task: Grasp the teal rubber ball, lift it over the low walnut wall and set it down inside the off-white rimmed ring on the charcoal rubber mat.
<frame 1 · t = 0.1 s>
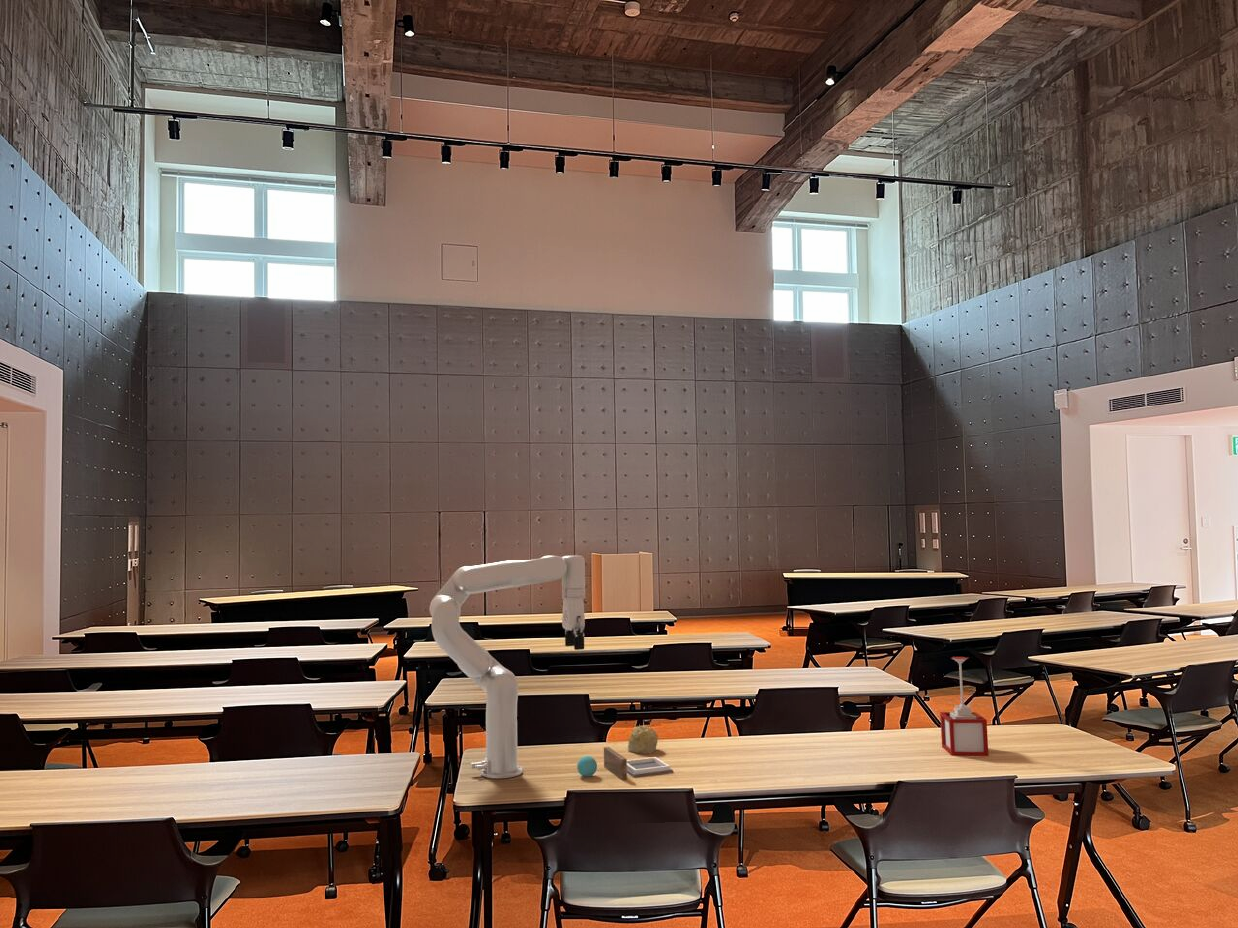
hand: (574, 647, 271), 37 cm above the table, tool pointing down, fingers open, 9 cm apart
low wall: (615, 772, 258), on the table
ball: (587, 766, 255), point 3 cm above the table
rock: (643, 751, 285), on the table
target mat: (645, 769, 261), on the table
pendant light: (964, 751, 276), on the table
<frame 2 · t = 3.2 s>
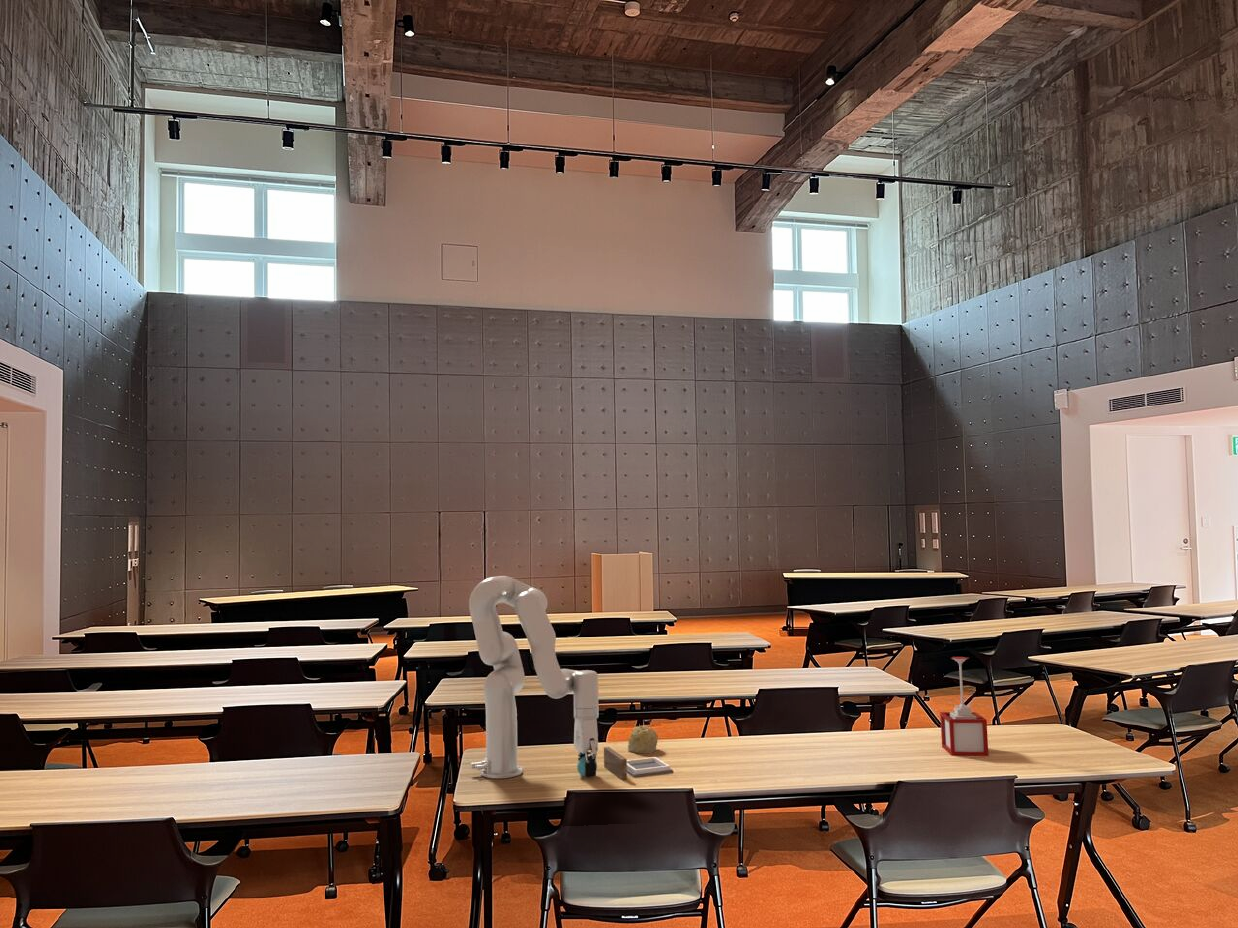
hand: (587, 772, 255), 1 cm above the table, tool pointing down, fingers closed on ball, 5 cm apart
ball: (587, 766, 255), point 3 cm above the table, touching gripper
everything else where it was.
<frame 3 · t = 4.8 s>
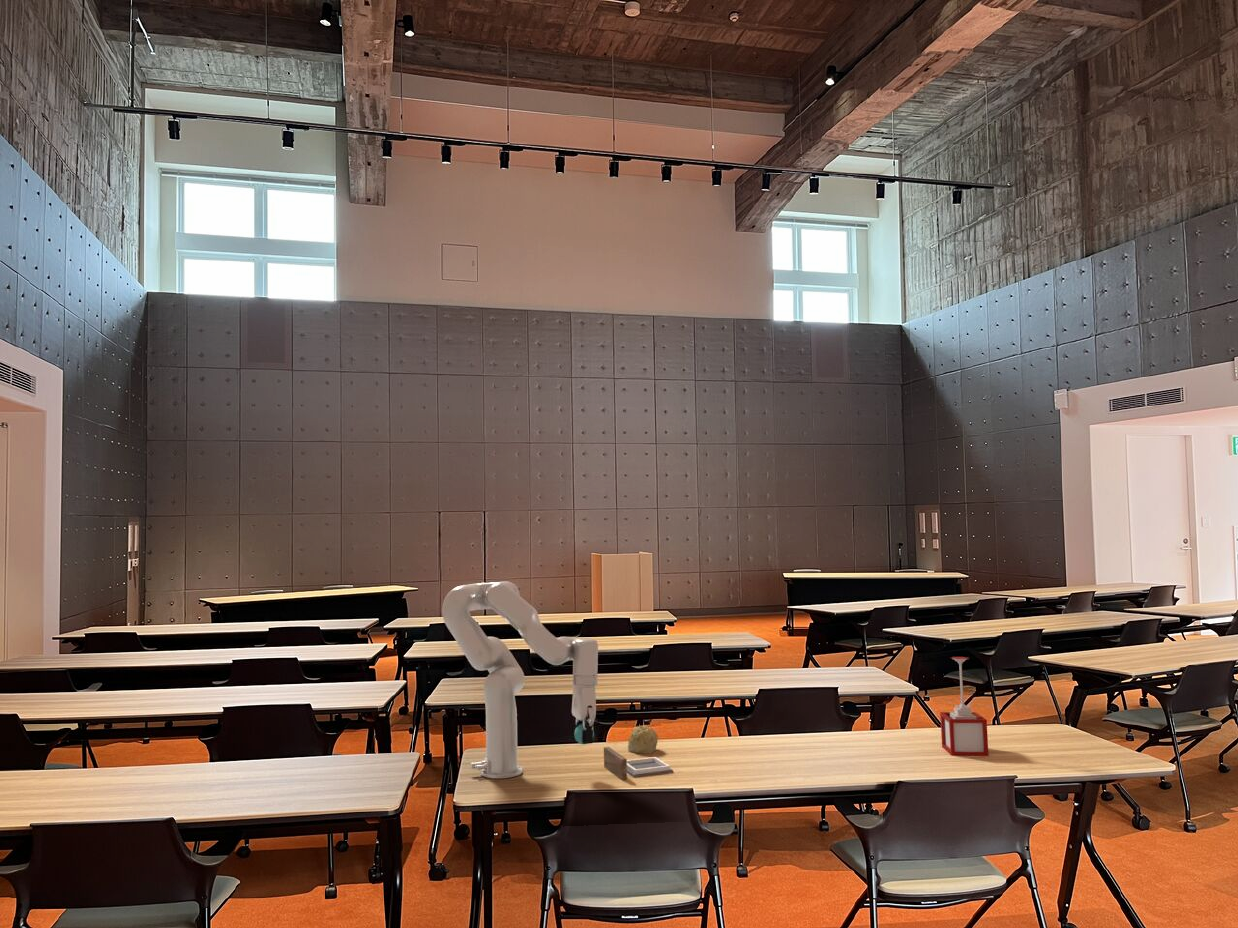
hand: (584, 740, 256), 11 cm above the table, tool pointing down, fingers closed on ball, 5 cm apart
ball: (584, 733, 256), point 13 cm above the table, touching gripper
everything else where it was.
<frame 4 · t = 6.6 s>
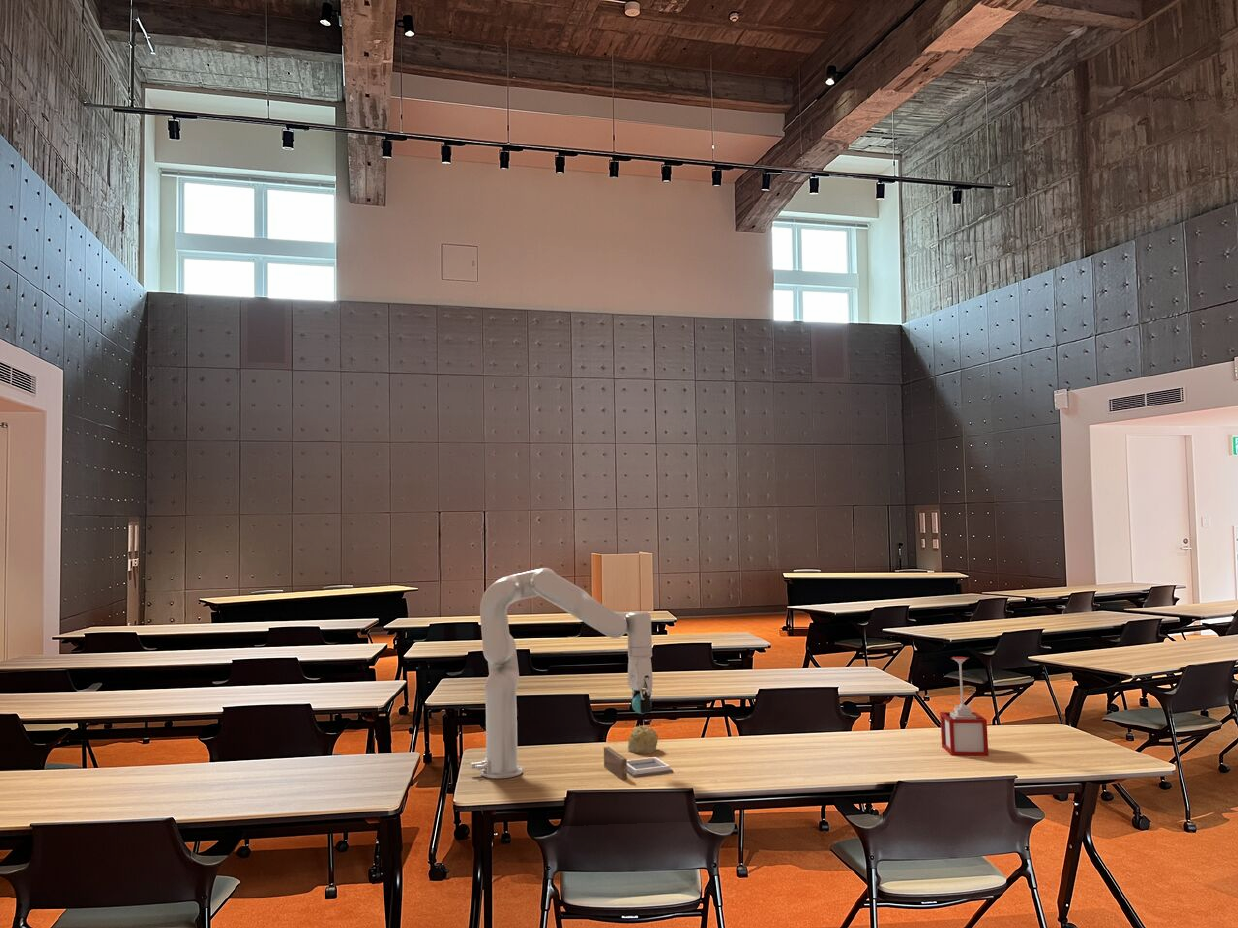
hand: (641, 710, 263), 18 cm above the table, tool pointing down, fingers closed on ball, 5 cm apart
ball: (641, 703, 263), point 20 cm above the table, touching gripper
everything else where it was.
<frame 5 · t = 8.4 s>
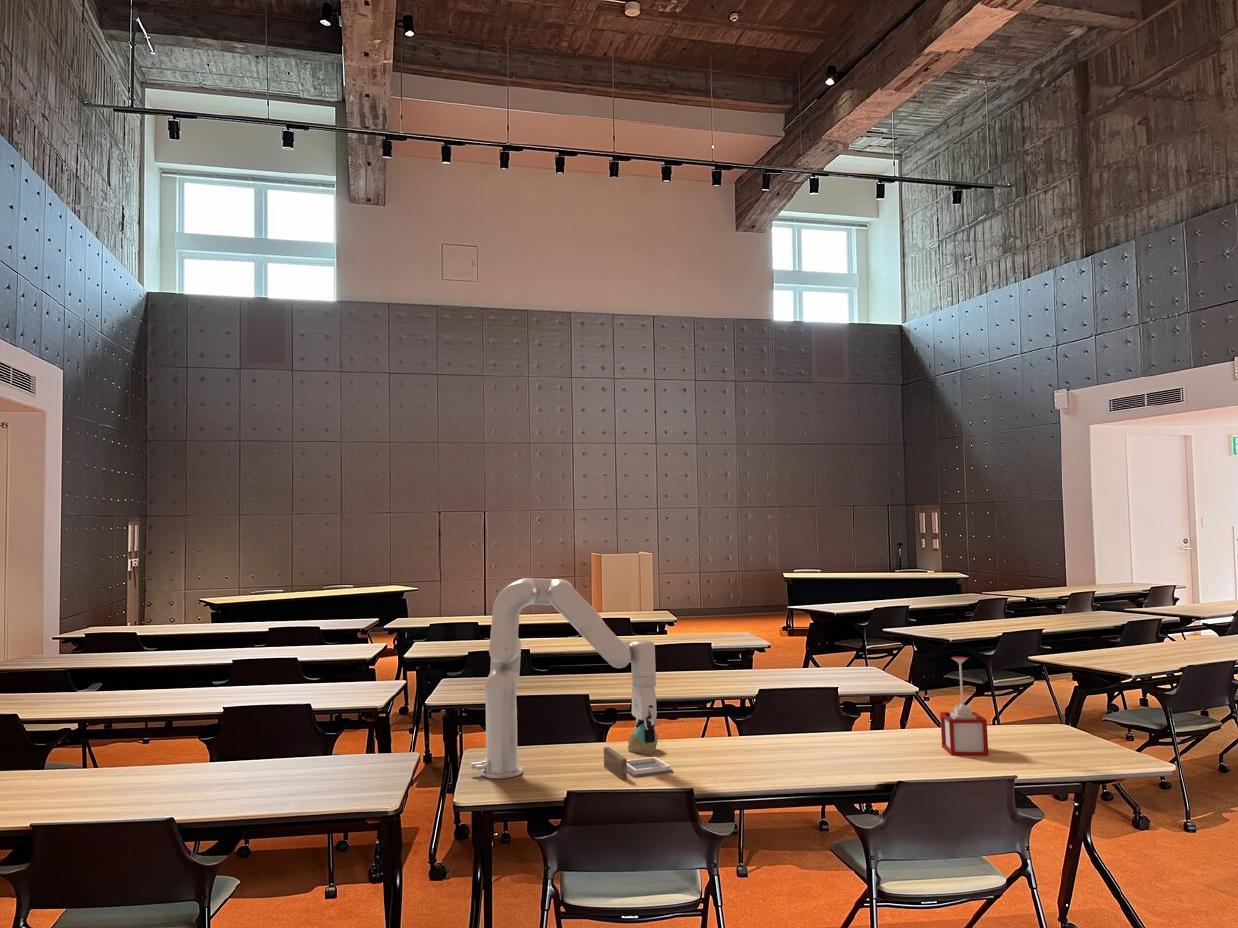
hand: (645, 739, 262), 9 cm above the table, tool pointing down, fingers closed on ball, 5 cm apart
ball: (645, 733, 262), point 11 cm above the table, touching gripper
everything else where it was.
when the fingers open (3 cm above the table, at t = 10.0 s): ball drops 1 cm, resting on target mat.
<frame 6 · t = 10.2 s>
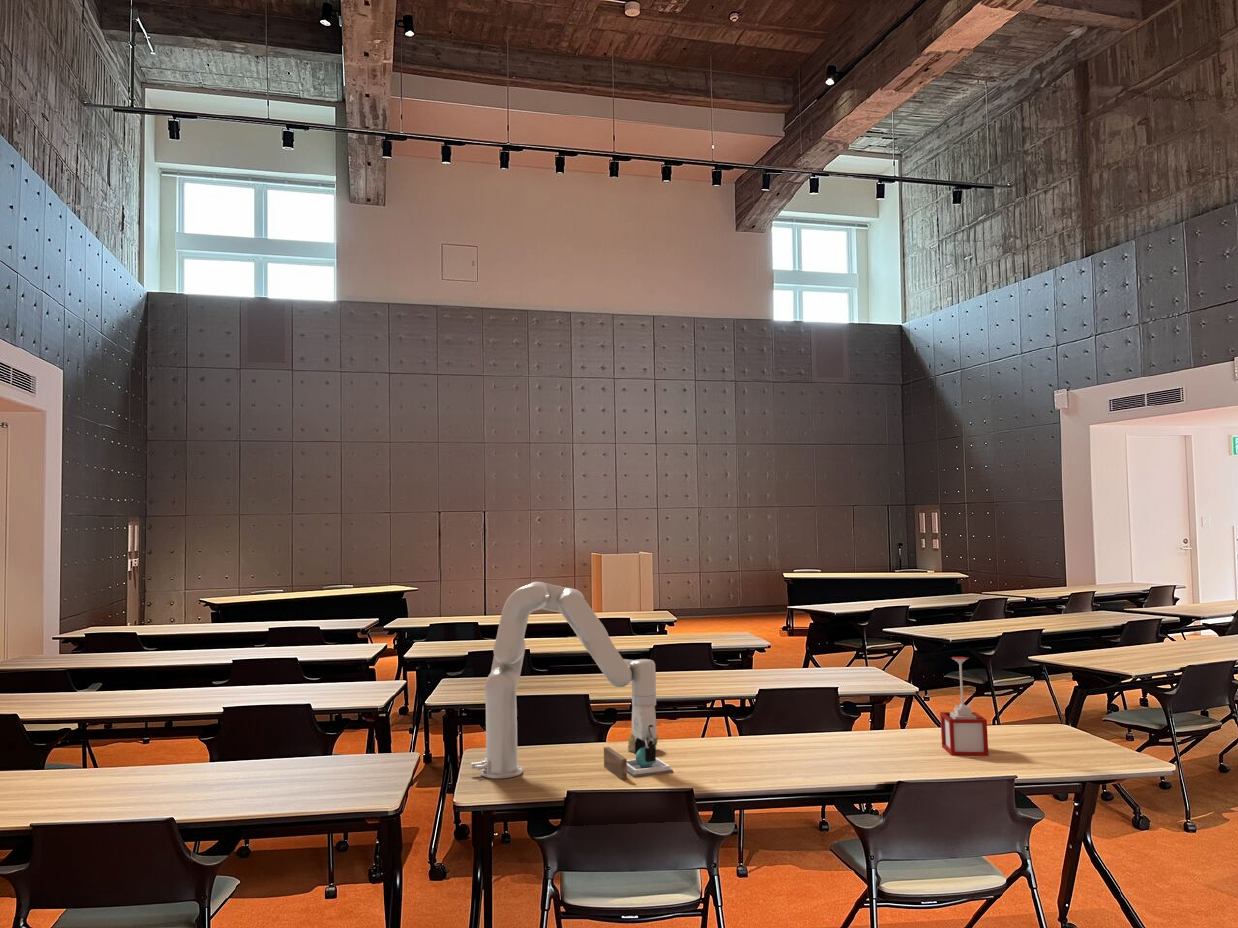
hand: (645, 757, 262), 4 cm above the table, tool pointing down, fingers open, 8 cm apart
ball: (645, 757, 262), point 4 cm above the table, touching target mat
everything else where it was.
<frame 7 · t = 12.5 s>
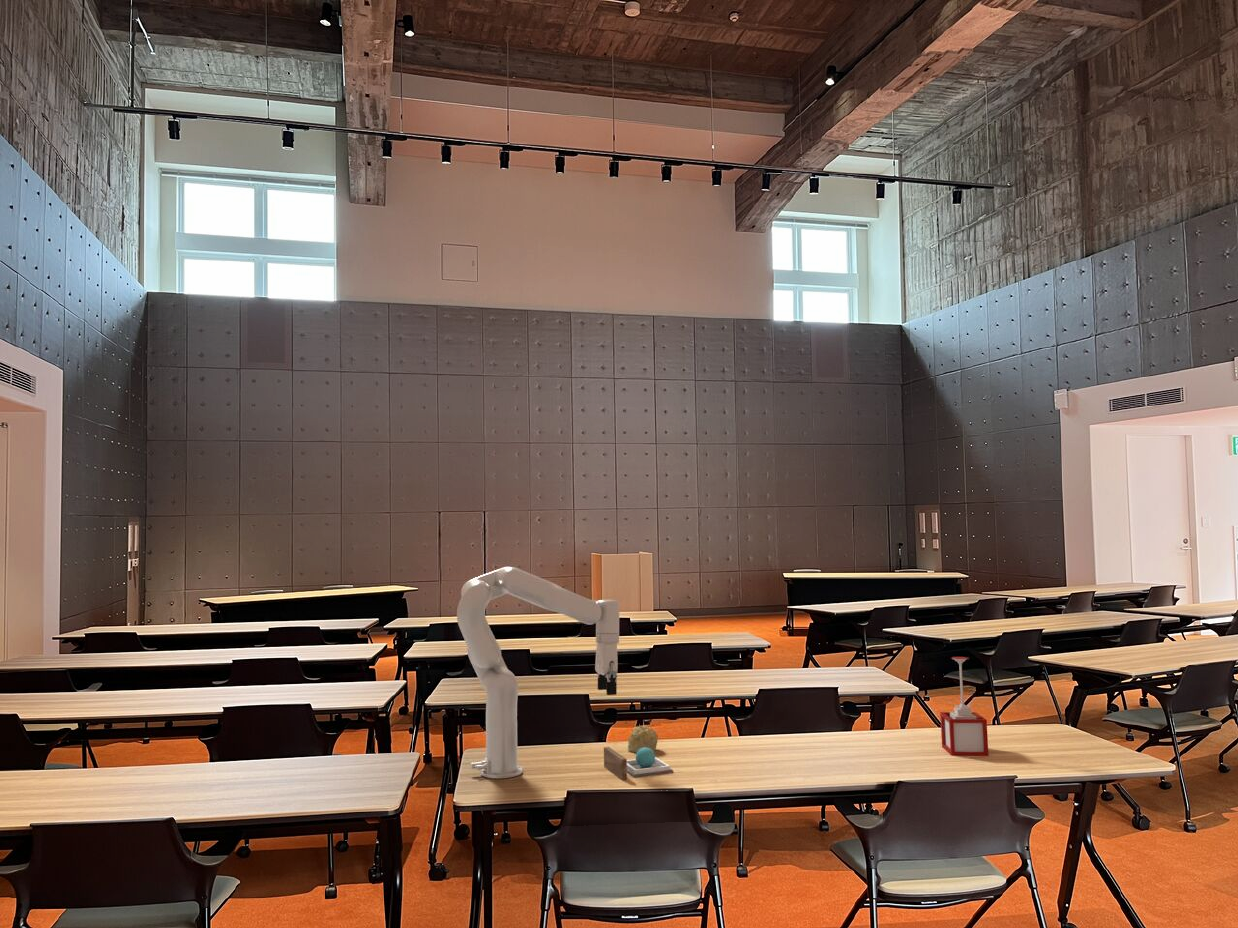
hand: (606, 692, 272), 22 cm above the table, tool pointing down, fingers open, 9 cm apart
nothing on the table moved.
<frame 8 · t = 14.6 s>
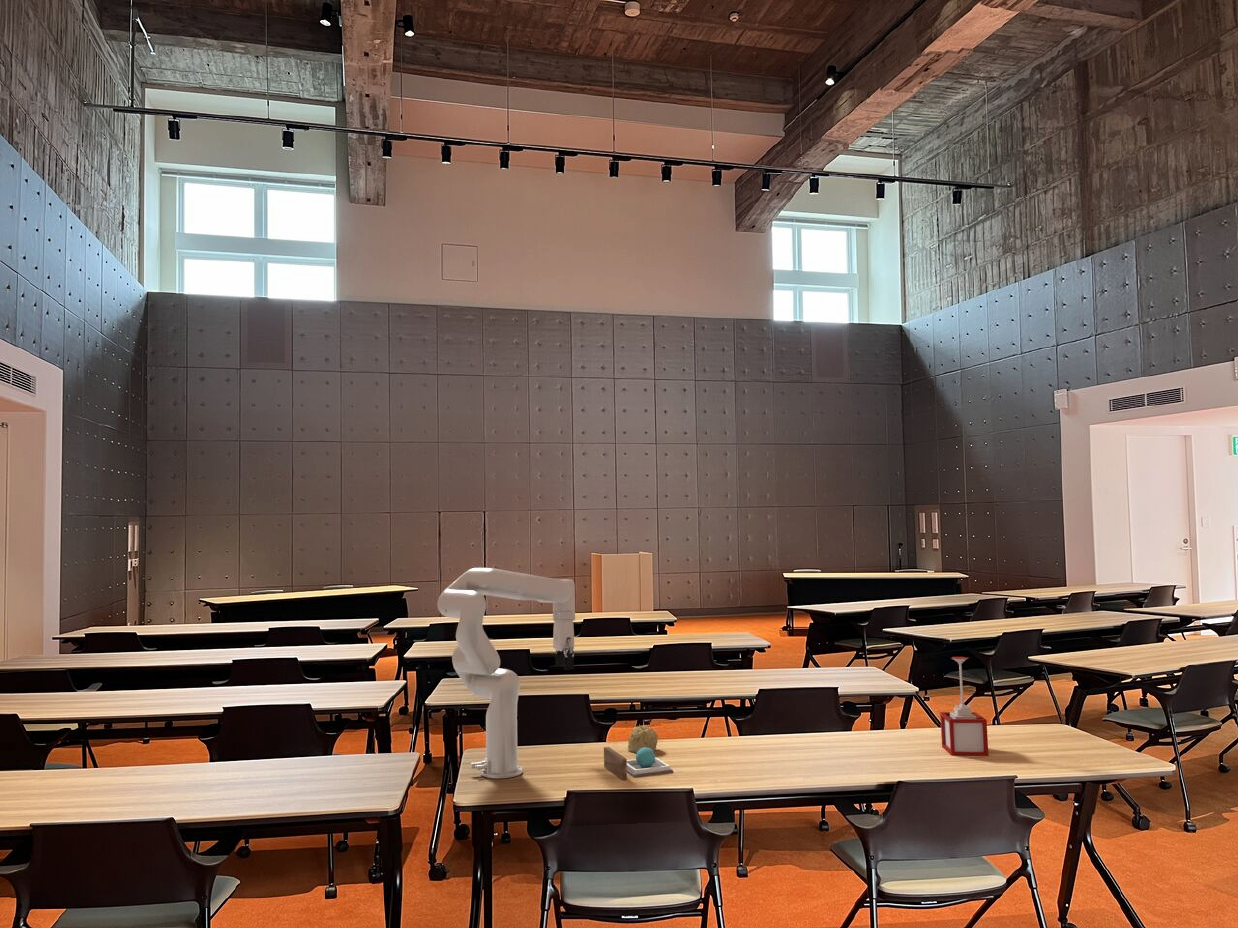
hand: (564, 667, 285), 28 cm above the table, tool pointing down, fingers open, 9 cm apart
nothing on the table moved.
at the end: ball 0.1 cm off-centre on the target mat, point 3.6 cm above the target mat's base; the gripper is holding nothing; ball moved 19.1 cm from its start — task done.
